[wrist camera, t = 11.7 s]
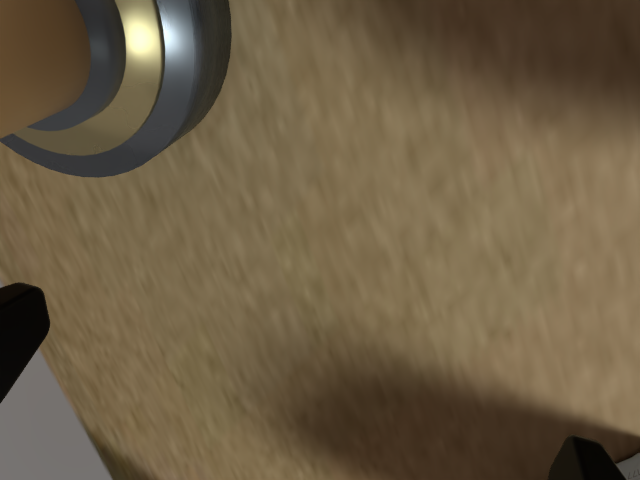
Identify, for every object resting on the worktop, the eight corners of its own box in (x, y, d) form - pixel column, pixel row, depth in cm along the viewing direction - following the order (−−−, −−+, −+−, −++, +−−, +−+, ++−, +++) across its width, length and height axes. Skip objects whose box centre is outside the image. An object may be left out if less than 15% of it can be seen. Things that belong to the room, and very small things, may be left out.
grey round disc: (234, -149, 17) (184, -161, 14) (228, 172, 23) (192, 208, 20) (-65, -184, 19) (-161, -201, 16) (2, 122, 25) (-60, 148, 22)
